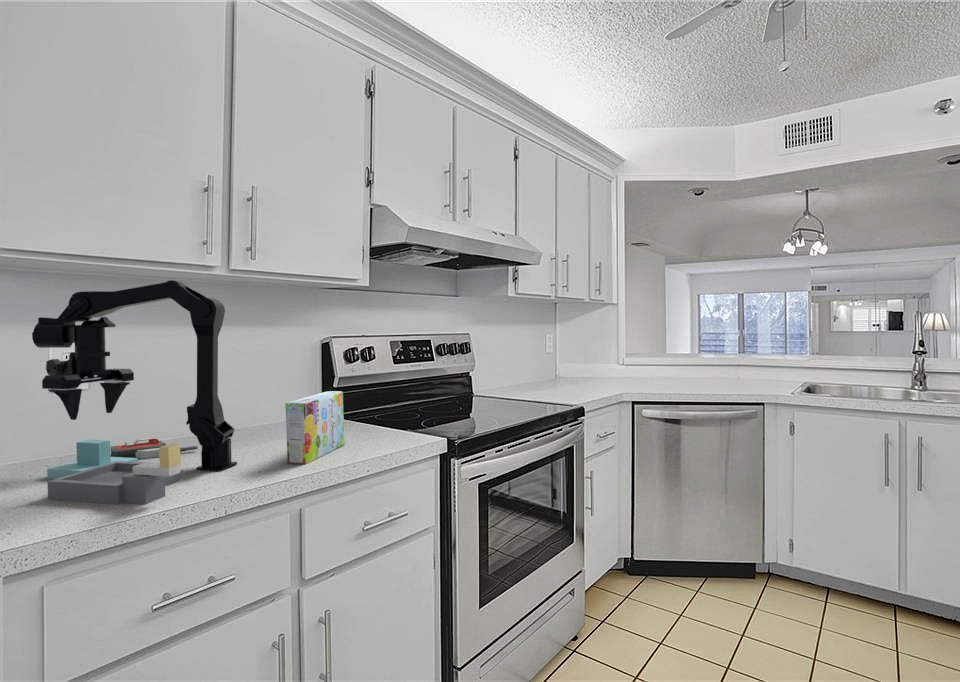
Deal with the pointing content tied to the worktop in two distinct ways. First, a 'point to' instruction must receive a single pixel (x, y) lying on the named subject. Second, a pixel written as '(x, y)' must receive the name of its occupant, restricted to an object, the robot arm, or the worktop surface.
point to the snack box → (314, 426)
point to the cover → (87, 458)
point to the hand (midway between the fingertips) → (91, 416)
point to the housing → (110, 485)
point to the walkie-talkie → (142, 449)
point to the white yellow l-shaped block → (162, 463)
